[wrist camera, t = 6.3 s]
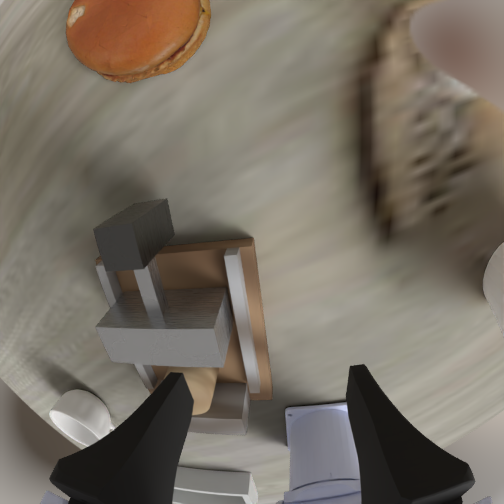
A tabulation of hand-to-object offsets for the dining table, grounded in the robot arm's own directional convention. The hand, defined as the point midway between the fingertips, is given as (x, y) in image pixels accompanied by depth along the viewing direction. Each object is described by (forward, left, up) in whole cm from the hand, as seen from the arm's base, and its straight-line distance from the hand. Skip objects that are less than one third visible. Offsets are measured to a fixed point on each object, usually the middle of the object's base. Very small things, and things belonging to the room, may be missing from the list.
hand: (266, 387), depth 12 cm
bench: (-4, +7, -10) cm, 13 cm away
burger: (+20, +6, -11) cm, 23 cm away
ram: (+2, +7, -9) cm, 11 cm away
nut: (-7, +7, -9) cm, 13 cm away
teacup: (-18, +24, -11) cm, 32 cm away
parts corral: (-38, +14, -10) cm, 42 cm away
